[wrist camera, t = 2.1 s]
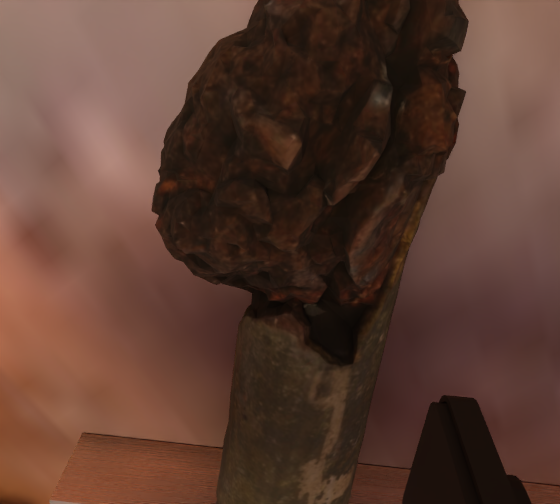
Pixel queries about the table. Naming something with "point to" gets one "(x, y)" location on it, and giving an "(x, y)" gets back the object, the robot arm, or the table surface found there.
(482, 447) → the robot arm
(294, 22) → the brown knobbed club
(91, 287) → the table surface
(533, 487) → the cradle
